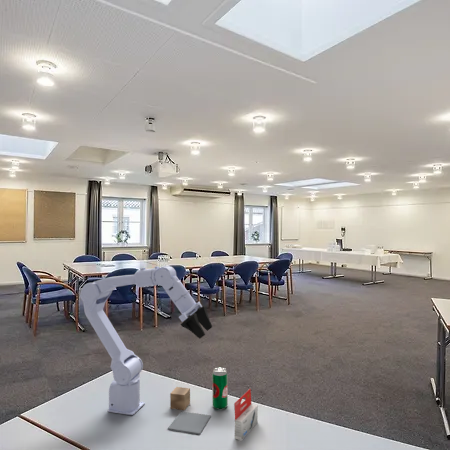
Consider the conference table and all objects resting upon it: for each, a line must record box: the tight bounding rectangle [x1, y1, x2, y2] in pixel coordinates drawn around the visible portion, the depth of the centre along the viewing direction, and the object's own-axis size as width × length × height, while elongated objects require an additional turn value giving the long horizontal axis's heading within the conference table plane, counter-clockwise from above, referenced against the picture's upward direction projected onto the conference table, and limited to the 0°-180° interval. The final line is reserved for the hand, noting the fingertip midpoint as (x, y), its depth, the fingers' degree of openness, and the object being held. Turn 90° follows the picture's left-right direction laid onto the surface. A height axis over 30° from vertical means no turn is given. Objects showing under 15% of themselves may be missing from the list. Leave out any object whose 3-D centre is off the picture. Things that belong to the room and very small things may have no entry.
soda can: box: [211, 367, 229, 410], centre depth 112 cm, size 5×5×12 cm
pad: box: [167, 410, 212, 435], centre depth 102 cm, size 10×10×1 cm
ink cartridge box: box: [233, 388, 259, 442], centre depth 98 cm, size 2×11×10 cm, turn 151°
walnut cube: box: [169, 386, 191, 411], centre depth 113 cm, size 5×5×5 cm
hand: (206, 332), depth 107 cm, fingers open, 7 cm apart
